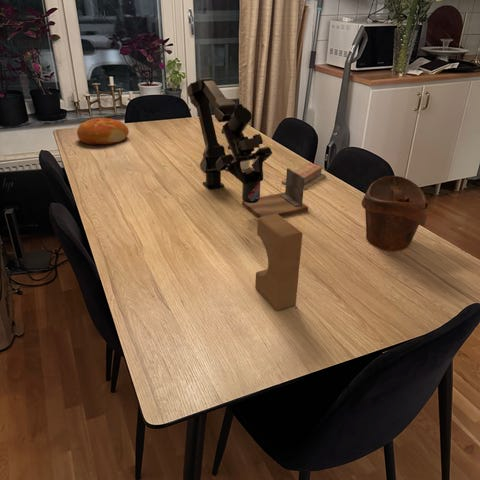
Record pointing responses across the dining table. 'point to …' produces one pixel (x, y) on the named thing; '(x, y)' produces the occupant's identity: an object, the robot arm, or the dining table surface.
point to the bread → (102, 131)
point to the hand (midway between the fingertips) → (254, 182)
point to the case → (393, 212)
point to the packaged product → (309, 174)
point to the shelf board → (281, 199)
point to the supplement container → (251, 187)
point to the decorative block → (279, 261)
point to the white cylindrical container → (245, 164)
